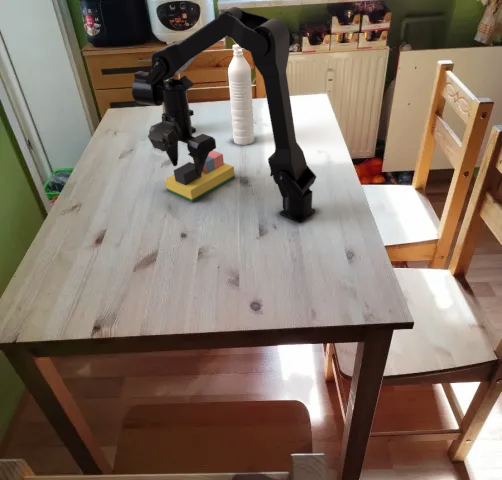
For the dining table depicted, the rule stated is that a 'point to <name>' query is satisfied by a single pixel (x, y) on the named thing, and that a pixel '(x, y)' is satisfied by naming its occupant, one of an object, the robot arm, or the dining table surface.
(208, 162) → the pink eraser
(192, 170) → the grey eraser
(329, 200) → the dining table surface
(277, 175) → the robot arm
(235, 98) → the water bottle
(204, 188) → the sponge
